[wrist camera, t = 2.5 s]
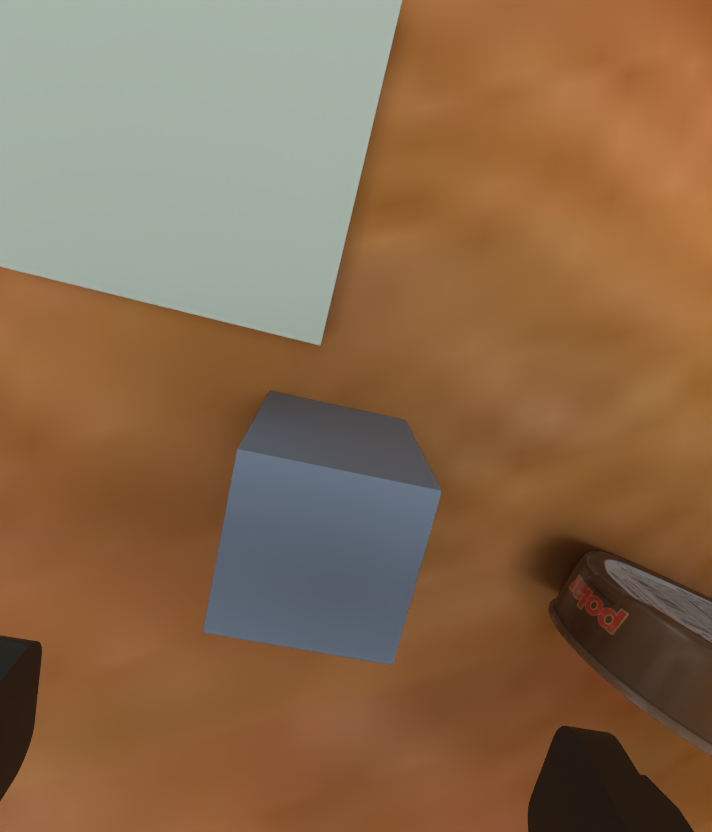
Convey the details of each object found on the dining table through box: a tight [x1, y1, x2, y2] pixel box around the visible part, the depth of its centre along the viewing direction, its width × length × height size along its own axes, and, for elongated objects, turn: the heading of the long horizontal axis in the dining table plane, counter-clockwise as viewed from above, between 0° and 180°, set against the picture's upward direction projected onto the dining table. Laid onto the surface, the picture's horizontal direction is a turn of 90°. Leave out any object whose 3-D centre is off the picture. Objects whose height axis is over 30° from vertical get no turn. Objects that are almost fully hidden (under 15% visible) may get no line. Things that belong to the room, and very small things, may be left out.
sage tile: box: [0, 0, 402, 345], centre depth 16 cm, size 10×10×4 cm
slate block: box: [203, 391, 442, 665], centre depth 17 cm, size 5×5×7 cm
